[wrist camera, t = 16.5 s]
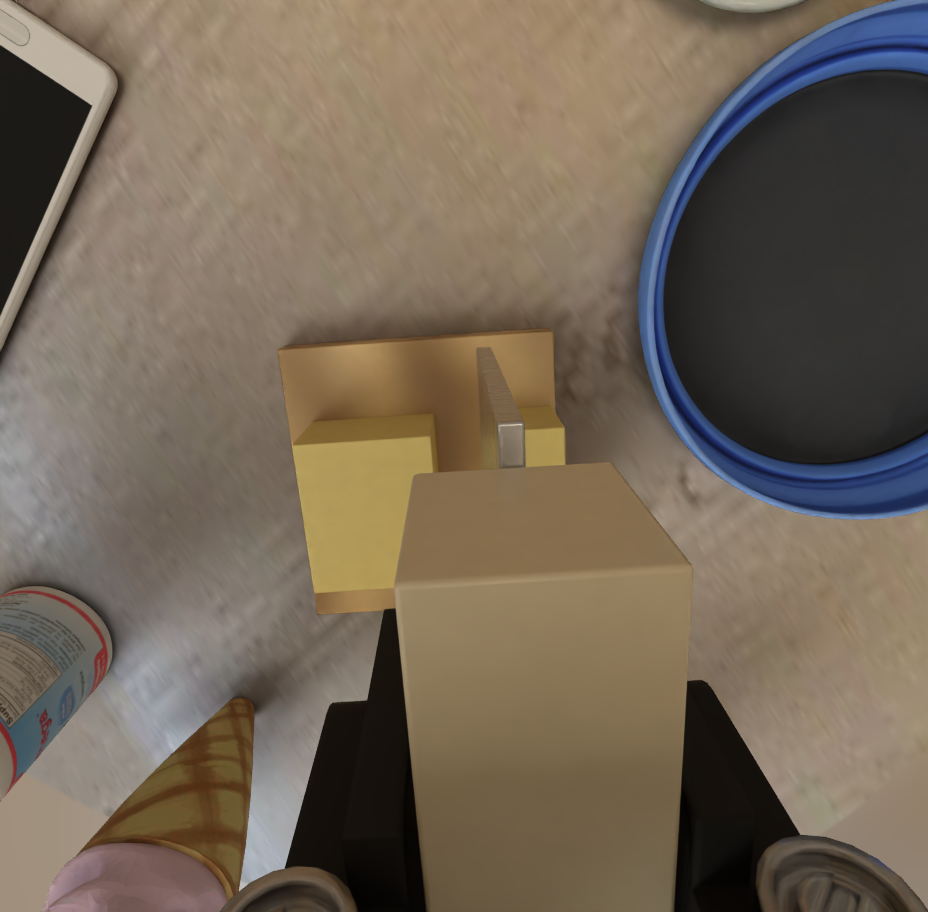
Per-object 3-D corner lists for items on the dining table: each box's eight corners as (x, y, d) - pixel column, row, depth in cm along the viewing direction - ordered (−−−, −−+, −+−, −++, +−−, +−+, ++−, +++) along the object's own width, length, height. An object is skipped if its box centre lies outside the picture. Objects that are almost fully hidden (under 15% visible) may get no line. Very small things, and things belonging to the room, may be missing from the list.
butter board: (322, 601, 30) (317, 615, 29) (284, 345, 26) (276, 349, 25) (556, 586, 30) (559, 599, 29) (549, 327, 26) (554, 330, 25)
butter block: (330, 553, 28) (313, 593, 25) (312, 420, 26) (291, 445, 23) (444, 546, 28) (443, 585, 25) (433, 413, 26) (430, 435, 23)
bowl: (974, 511, 29) (1043, 544, 26) (586, 466, 28) (604, 495, 25) (1147, 65, 24) (1262, 34, 20) (676, -8, 23) (714, -53, 19)
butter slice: (513, 541, 28) (521, 580, 25) (507, 407, 26) (515, 430, 23) (554, 539, 28) (567, 577, 25) (551, 405, 26) (565, 426, 23)
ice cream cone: (298, 773, 33) (178, 1171, 19) (176, 763, 33) (-42, 1160, 18) (303, 662, 31) (172, 1013, 17) (173, 651, 31) (-74, 998, 16)
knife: (455, 727, 15) (460, 1262, 7) (427, 350, 13) (385, 520, 4) (547, 721, 15) (657, 1251, 7) (539, 343, 13) (700, 501, 4)
